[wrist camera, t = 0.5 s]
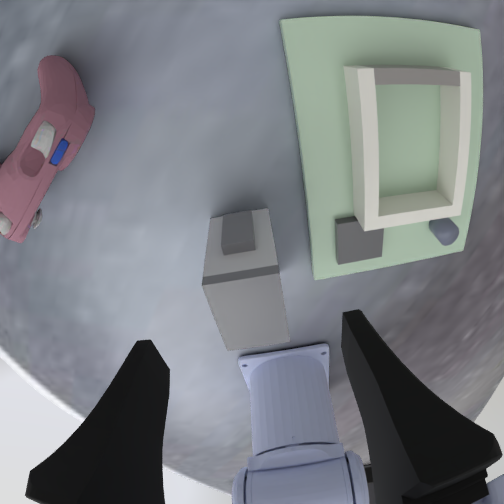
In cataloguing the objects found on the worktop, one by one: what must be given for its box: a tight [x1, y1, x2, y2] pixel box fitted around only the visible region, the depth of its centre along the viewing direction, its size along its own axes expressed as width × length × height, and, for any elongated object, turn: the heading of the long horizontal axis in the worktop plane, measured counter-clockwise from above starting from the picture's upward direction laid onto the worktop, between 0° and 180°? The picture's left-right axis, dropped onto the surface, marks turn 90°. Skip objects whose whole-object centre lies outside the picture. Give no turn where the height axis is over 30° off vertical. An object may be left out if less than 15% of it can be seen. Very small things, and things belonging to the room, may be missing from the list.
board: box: [279, 16, 483, 280], centre depth 16 cm, size 16×12×3 cm
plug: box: [202, 208, 290, 351], centre depth 18 cm, size 6×4×6 cm, turn 10°
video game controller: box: [0, 55, 95, 243], centre depth 13 cm, size 10×5×7 cm, turn 132°
